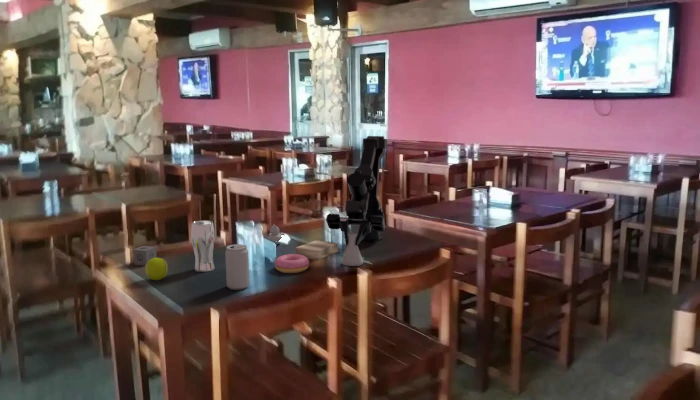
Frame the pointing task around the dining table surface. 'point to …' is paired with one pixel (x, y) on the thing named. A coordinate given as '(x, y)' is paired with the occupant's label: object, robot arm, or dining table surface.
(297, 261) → the doughnut
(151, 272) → the tennis ball
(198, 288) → the dining table surface
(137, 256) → the dice cube
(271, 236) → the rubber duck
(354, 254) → the flask
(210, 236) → the beer glass
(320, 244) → the foundation block
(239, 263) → the beverage can
